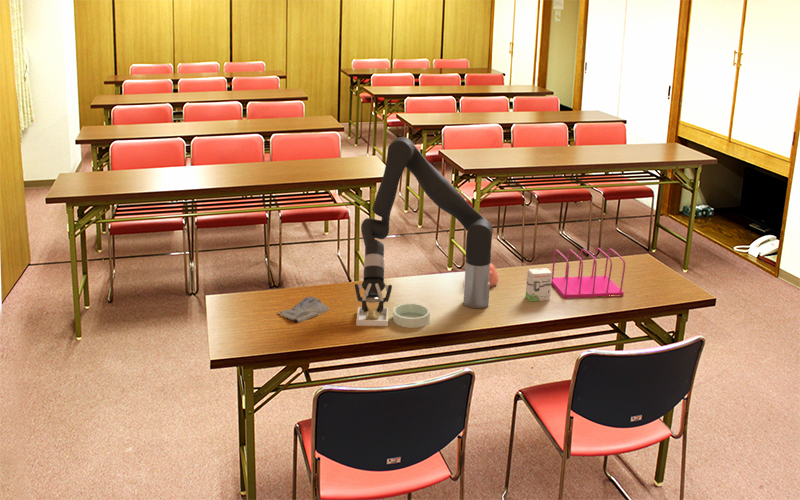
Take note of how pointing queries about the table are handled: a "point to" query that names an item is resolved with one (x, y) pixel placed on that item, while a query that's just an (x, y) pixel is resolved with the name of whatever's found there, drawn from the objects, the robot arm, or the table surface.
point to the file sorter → (586, 280)
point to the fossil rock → (305, 310)
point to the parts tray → (363, 322)
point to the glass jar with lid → (372, 307)
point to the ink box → (538, 284)
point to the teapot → (493, 275)
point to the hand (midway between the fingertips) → (372, 311)
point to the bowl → (411, 315)
